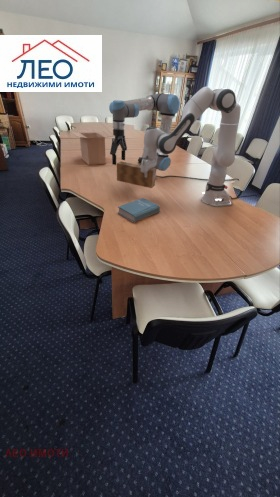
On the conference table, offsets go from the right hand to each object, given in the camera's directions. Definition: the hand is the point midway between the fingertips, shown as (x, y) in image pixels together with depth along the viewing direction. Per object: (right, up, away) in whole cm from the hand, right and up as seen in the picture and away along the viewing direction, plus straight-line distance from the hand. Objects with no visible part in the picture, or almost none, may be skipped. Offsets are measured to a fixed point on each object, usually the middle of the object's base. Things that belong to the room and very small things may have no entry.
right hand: (148, 175), depth 153 cm
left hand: (-21, +11, +4) cm, 24 cm away
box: (-56, +43, +84) cm, 110 cm away
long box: (-9, -3, +7) cm, 12 cm away
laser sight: (+3, +41, +87) cm, 97 cm away
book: (-6, -27, -6) cm, 28 cm away
